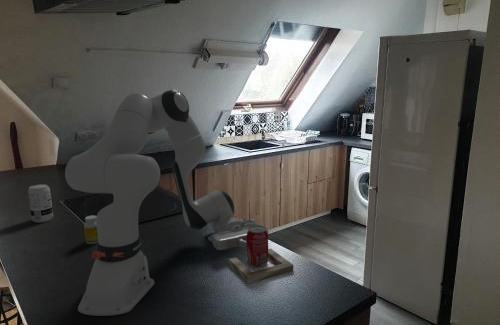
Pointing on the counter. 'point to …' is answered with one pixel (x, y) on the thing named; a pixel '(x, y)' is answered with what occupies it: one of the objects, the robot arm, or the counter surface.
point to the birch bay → (250, 277)
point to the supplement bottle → (90, 230)
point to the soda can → (257, 246)
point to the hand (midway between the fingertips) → (251, 245)
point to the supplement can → (40, 203)
